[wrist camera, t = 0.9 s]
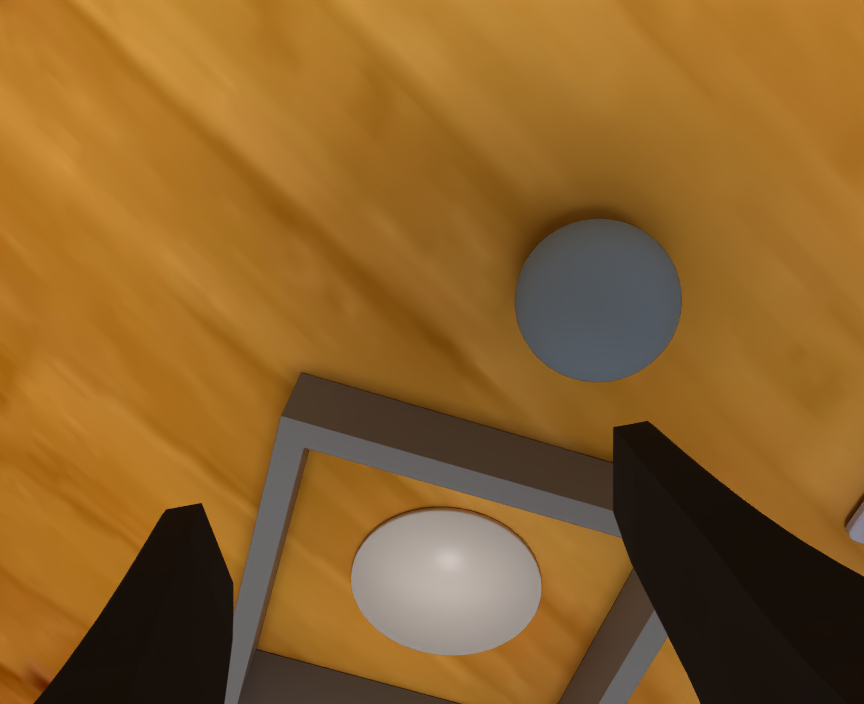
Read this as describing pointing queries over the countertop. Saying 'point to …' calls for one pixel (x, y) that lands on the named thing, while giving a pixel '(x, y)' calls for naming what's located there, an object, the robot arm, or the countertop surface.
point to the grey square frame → (433, 549)
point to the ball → (598, 300)
